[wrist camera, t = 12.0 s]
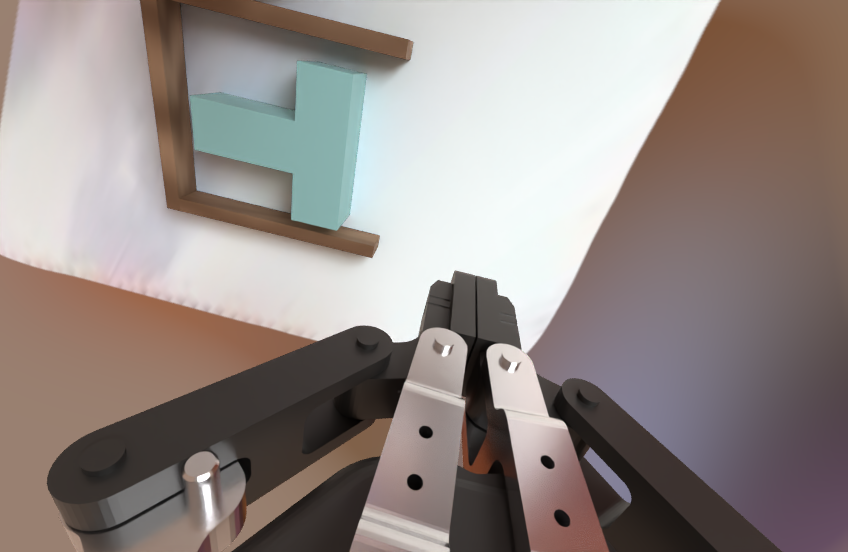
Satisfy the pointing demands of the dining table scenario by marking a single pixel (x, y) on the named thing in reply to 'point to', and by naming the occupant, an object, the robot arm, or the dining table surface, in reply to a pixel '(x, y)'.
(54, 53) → the dining table surface
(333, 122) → the T-block
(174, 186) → the bay
